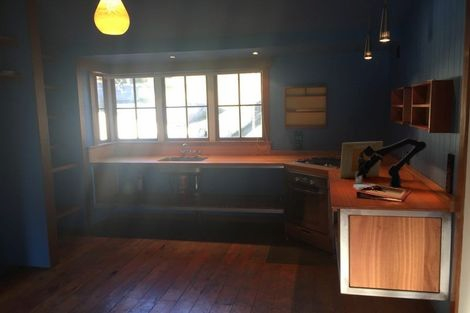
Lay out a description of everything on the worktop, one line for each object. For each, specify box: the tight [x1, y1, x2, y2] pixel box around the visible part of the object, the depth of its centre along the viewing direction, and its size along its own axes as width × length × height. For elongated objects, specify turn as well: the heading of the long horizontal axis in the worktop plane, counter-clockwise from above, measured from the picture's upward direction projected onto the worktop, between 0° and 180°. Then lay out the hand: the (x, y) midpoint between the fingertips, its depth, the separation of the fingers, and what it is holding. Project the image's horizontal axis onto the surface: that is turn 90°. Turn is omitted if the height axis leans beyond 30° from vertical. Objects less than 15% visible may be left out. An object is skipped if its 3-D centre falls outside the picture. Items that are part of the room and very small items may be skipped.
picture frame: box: [339, 140, 384, 180], centre depth 305 cm, size 33×10×30 cm, turn 92°
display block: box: [353, 183, 375, 191], centre depth 265 cm, size 14×10×2 cm
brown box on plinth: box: [353, 172, 363, 186], centre depth 276 cm, size 6×6×10 cm
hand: (356, 175), depth 276 cm, fingers open, 5 cm apart
